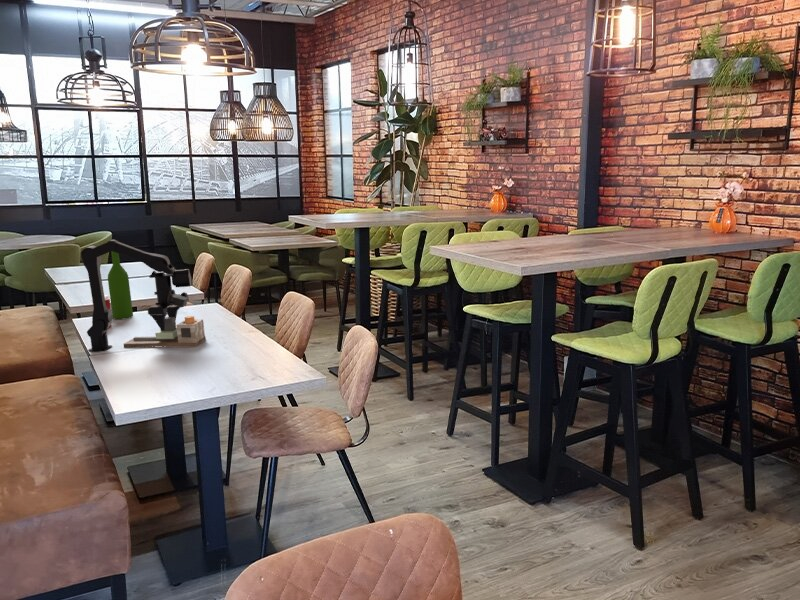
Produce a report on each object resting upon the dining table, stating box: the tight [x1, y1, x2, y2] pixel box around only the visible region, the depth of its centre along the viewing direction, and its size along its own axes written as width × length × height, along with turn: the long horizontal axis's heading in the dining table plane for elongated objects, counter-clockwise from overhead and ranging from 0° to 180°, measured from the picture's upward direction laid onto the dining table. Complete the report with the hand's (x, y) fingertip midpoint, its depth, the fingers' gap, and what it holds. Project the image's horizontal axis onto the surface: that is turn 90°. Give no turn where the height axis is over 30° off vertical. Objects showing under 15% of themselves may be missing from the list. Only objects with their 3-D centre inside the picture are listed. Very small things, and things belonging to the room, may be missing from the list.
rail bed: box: [123, 318, 207, 348], centre depth 263 cm, size 10×29×8 cm, turn 84°
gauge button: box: [184, 315, 195, 324], centre depth 261 cm, size 4×4×5 cm
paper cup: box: [91, 294, 112, 329], centre depth 294 cm, size 8×8×14 cm
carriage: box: [155, 316, 178, 339], centre depth 262 cm, size 8×7×7 cm
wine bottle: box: [107, 251, 134, 320], centre depth 312 cm, size 9×9×32 cm
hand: (168, 327), depth 262 cm, fingers open, 9 cm apart
